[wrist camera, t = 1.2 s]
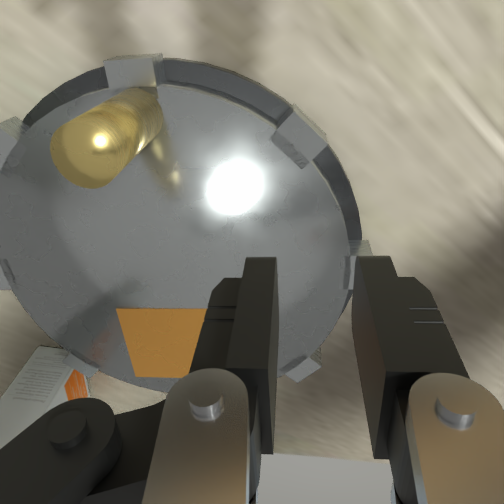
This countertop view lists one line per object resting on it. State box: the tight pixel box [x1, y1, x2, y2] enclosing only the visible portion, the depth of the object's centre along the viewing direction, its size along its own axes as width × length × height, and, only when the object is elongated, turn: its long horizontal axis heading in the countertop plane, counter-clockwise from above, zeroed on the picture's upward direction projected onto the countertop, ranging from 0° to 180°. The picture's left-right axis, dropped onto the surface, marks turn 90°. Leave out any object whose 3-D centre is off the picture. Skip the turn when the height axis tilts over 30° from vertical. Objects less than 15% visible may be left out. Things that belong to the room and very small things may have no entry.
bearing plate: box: [22, 58, 362, 317], centre depth 31 cm, size 26×26×1 cm
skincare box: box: [0, 346, 90, 449], centre depth 34 cm, size 6×4×12 cm
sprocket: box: [0, 53, 373, 393], centre depth 26 cm, size 27×27×9 cm
